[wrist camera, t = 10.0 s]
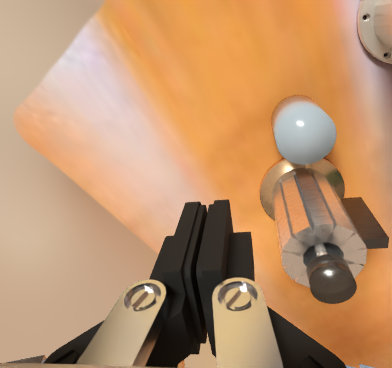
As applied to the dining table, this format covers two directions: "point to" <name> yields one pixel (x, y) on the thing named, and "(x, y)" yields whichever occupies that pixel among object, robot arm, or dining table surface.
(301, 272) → the cafetiere
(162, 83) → the dining table surface
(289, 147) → the pale blue egg
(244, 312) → the robot arm
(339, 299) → the plunger
